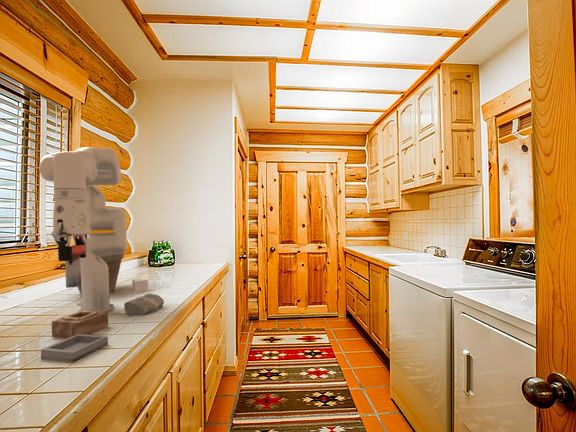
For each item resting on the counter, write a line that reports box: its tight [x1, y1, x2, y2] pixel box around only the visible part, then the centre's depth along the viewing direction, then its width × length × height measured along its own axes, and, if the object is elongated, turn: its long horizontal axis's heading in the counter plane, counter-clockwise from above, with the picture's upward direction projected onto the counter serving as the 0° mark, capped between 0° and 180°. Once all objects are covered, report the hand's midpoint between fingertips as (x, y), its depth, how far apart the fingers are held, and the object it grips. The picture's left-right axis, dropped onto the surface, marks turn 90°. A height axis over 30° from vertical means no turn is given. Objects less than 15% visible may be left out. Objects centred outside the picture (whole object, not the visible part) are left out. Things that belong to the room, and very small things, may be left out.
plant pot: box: [77, 253, 125, 297], centre depth 156 cm, size 25×25×22 cm
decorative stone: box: [123, 293, 165, 317], centre depth 123 cm, size 13×10×6 cm
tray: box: [40, 334, 109, 363], centre depth 87 cm, size 11×11×2 cm
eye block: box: [51, 311, 109, 339], centre depth 103 cm, size 11×11×6 cm
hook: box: [64, 244, 85, 289], centre depth 88 cm, size 6×6×12 cm
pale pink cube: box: [131, 277, 149, 294], centre depth 158 cm, size 6×6×6 cm
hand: (72, 258), depth 88 cm, fingers closed on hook, 6 cm apart
